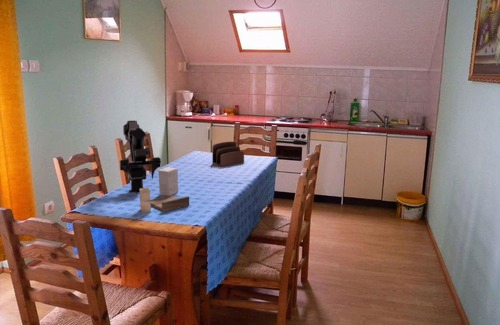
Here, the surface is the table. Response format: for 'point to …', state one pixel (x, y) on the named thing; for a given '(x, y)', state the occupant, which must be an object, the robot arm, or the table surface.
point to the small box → (168, 181)
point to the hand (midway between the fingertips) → (142, 178)
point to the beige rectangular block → (145, 200)
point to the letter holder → (226, 154)
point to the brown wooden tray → (169, 202)
